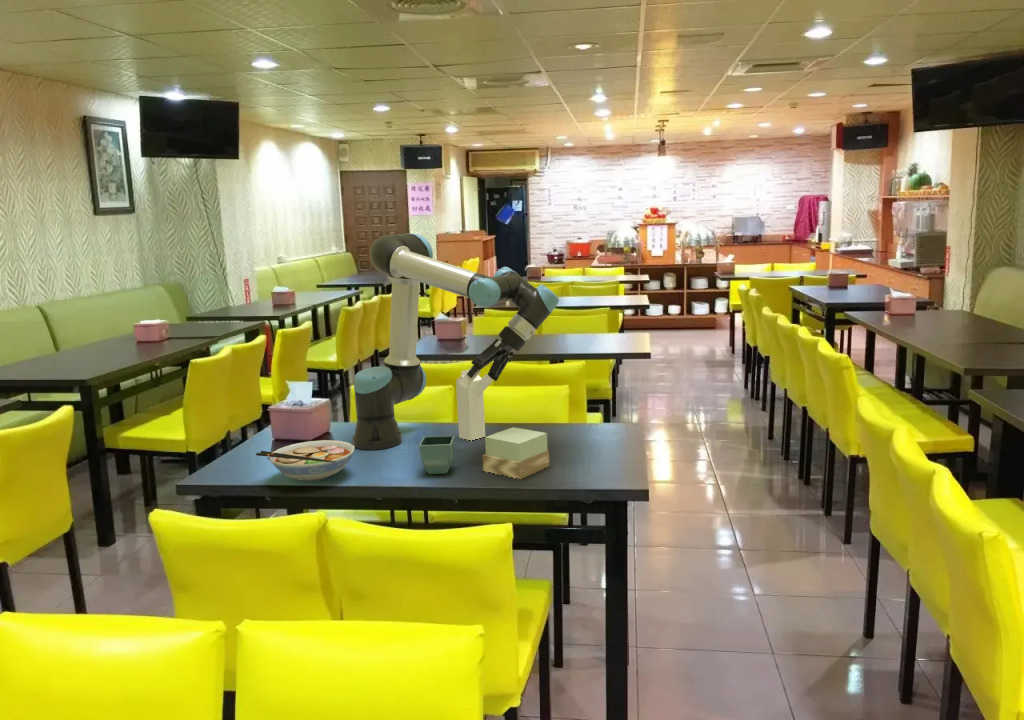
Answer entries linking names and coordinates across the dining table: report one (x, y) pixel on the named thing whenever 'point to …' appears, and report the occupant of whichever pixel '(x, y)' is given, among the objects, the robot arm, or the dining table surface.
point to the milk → (470, 410)
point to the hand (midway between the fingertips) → (468, 390)
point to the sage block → (516, 444)
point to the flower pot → (437, 453)
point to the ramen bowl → (311, 459)
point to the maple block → (515, 465)
